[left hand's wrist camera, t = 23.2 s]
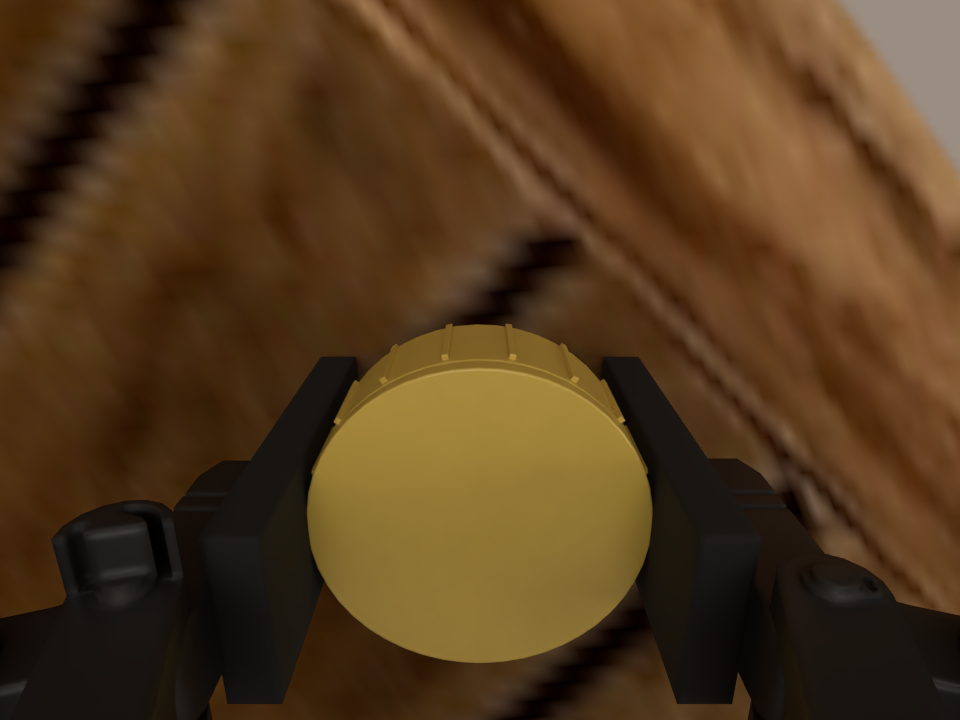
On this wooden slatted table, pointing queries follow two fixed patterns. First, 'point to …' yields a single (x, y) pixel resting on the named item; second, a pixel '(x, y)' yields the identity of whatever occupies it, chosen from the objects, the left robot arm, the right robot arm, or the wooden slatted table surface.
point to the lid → (479, 497)
